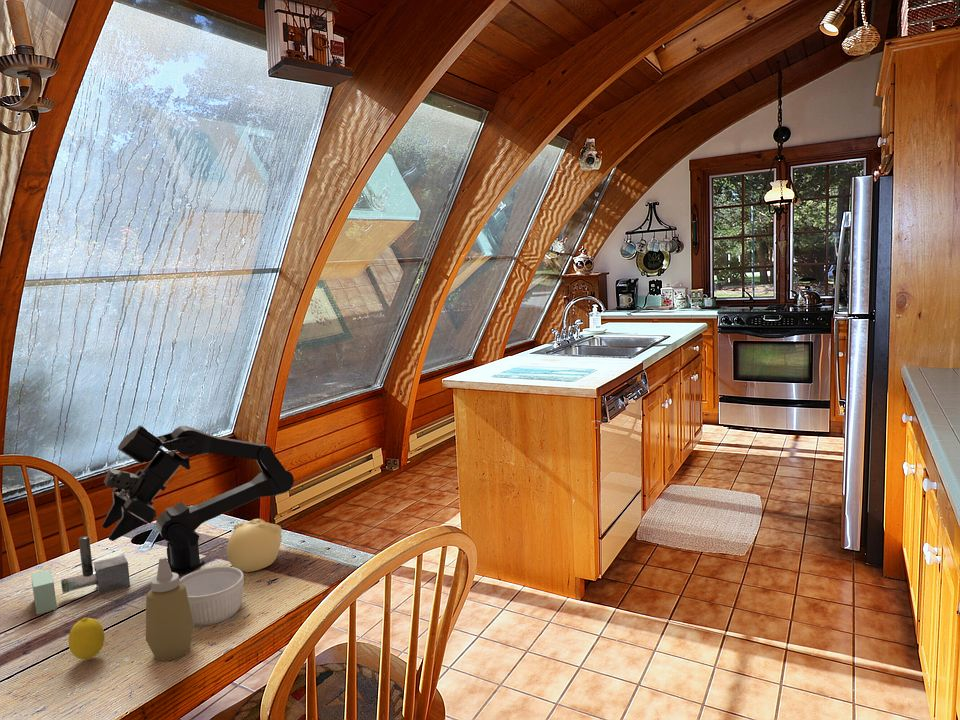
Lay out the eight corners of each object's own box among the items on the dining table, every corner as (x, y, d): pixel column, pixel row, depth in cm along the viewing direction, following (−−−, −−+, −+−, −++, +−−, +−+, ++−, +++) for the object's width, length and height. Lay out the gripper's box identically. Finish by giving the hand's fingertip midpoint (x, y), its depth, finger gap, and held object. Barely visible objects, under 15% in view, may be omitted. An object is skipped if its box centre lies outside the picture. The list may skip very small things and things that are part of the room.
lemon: (80, 652, 122) (76, 611, 121) (112, 649, 123) (107, 609, 122) (64, 670, 117) (59, 627, 116) (97, 667, 117) (92, 625, 116)
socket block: (53, 594, 145) (50, 568, 144) (57, 609, 139) (53, 582, 138) (34, 600, 143) (30, 573, 142) (36, 614, 137) (33, 587, 136)
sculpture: (289, 555, 162) (286, 513, 160) (265, 578, 150) (262, 532, 149) (246, 553, 164) (242, 511, 162) (219, 575, 152) (215, 530, 151)
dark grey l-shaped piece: (124, 573, 151) (119, 527, 149) (126, 578, 148) (121, 531, 147) (61, 590, 144) (56, 542, 142) (63, 595, 141) (57, 546, 140)
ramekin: (214, 634, 127) (211, 600, 126) (160, 624, 132) (157, 590, 131) (259, 601, 140) (257, 570, 139) (209, 593, 144) (206, 562, 143)
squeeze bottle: (148, 670, 116) (137, 572, 114) (147, 647, 123) (137, 555, 121) (198, 656, 120) (189, 562, 117) (194, 635, 127) (185, 545, 124)
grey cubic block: (126, 578, 152) (123, 555, 151) (130, 585, 148) (127, 562, 147) (96, 586, 148) (93, 562, 148) (99, 594, 145) (96, 570, 144)
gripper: (118, 446, 155) (69, 503, 150) (134, 464, 140) (79, 527, 135) (158, 472, 161) (112, 528, 156) (177, 491, 146) (126, 553, 141)
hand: (106, 533), depth 147 cm, fingers open, 9 cm apart
